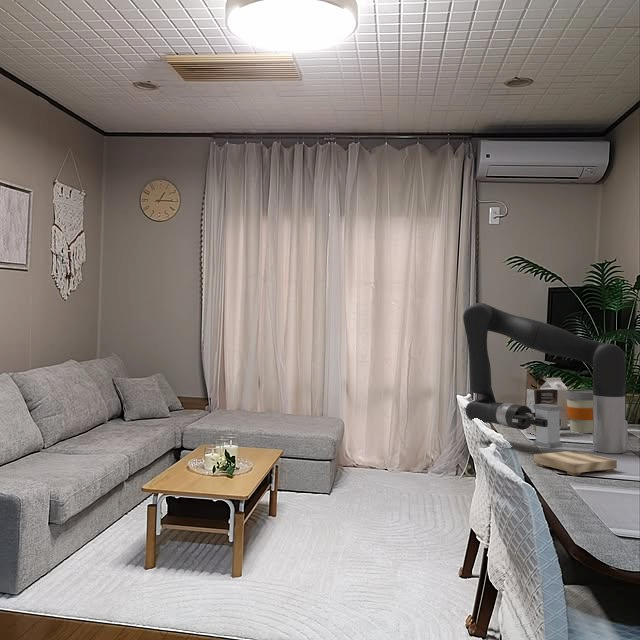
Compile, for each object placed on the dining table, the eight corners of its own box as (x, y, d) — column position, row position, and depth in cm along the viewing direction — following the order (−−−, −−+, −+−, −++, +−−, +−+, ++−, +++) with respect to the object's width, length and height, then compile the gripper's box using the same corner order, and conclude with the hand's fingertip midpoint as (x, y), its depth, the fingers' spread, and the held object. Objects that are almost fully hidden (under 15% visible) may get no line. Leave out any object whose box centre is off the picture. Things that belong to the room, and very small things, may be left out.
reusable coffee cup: (565, 433, 247) (565, 391, 247) (565, 428, 259) (565, 388, 259) (603, 435, 243) (603, 393, 243) (601, 430, 255) (601, 390, 255)
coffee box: (535, 435, 242) (535, 389, 242) (525, 432, 248) (525, 388, 249) (558, 434, 245) (558, 389, 245) (547, 431, 251) (547, 387, 251)
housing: (545, 443, 206) (544, 403, 206) (562, 447, 200) (561, 406, 200) (533, 444, 205) (533, 404, 205) (550, 448, 198) (550, 407, 198)
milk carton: (539, 427, 262) (539, 377, 262) (554, 426, 265) (554, 376, 265) (553, 429, 256) (553, 378, 256) (567, 428, 259) (567, 378, 259)
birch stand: (574, 461, 197) (574, 450, 197) (616, 471, 183) (616, 460, 183) (533, 465, 191) (533, 454, 191) (574, 476, 177) (574, 464, 177)
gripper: (495, 405, 213) (533, 411, 197) (531, 402, 219) (571, 408, 203) (495, 429, 213) (534, 437, 197) (532, 426, 219) (571, 434, 203)
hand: (552, 422), depth 200 cm, fingers closed on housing, 4 cm apart
